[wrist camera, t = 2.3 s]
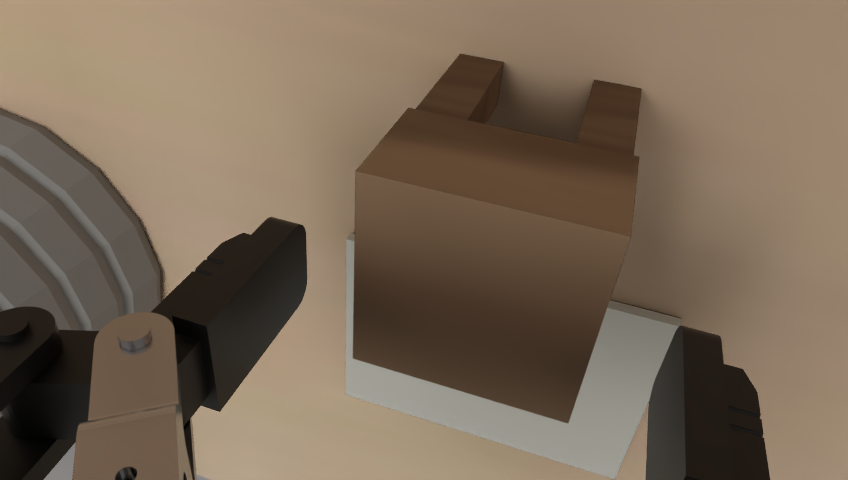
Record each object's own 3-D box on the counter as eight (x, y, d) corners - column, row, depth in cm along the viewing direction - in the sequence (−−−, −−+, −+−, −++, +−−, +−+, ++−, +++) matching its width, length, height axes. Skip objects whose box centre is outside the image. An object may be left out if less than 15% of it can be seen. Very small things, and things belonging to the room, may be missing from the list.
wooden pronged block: (456, 49, 17) (355, 171, 12) (646, 85, 16) (631, 237, 11) (439, 204, 20) (352, 358, 15) (599, 243, 19) (568, 424, 14)
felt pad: (351, 233, 22) (346, 239, 22) (681, 318, 20) (681, 326, 20) (349, 387, 27) (345, 394, 27) (615, 470, 25) (614, 479, 24)
